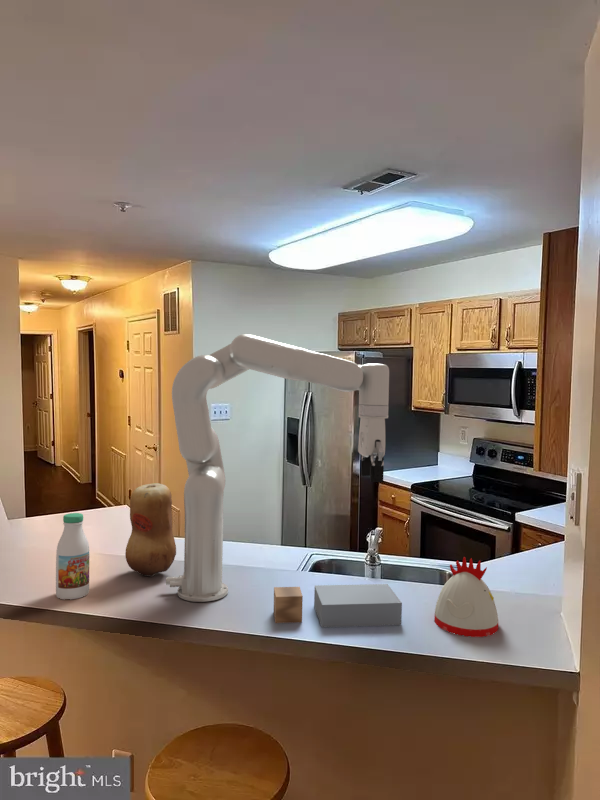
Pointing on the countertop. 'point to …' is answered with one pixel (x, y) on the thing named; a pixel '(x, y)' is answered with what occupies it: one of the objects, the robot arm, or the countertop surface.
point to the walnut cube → (287, 604)
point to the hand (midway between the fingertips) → (371, 478)
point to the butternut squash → (151, 530)
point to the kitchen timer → (466, 603)
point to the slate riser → (357, 605)
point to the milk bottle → (72, 559)
